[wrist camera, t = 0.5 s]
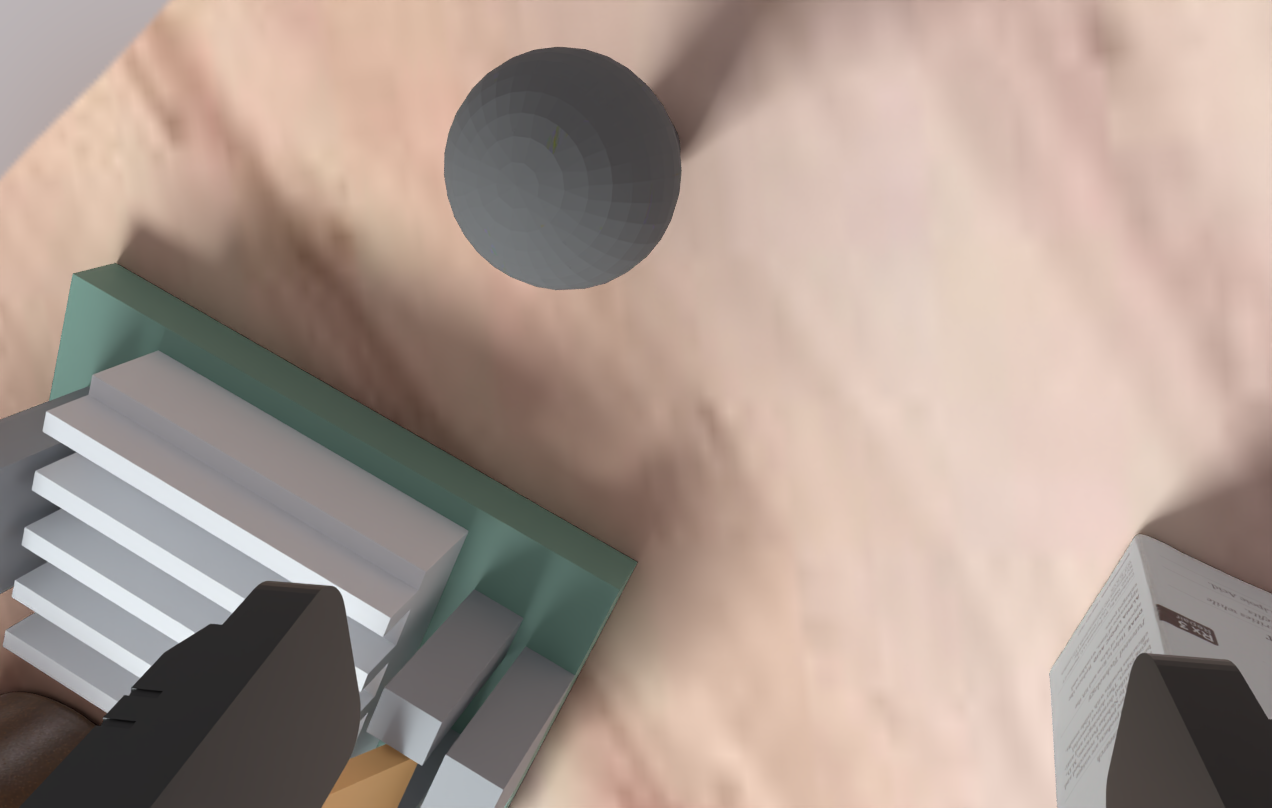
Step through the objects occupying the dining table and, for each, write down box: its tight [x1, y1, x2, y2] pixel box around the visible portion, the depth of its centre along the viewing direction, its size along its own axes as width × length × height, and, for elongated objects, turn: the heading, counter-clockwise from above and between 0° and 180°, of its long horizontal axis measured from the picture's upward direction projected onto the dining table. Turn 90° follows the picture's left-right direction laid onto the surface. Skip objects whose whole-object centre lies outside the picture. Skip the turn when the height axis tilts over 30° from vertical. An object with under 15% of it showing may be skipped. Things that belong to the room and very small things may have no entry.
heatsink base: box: [0, 263, 638, 808], centre depth 35 cm, size 14×22×8 cm, turn 66°
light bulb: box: [444, 47, 681, 290], centre depth 26 cm, size 6×6×10 cm
